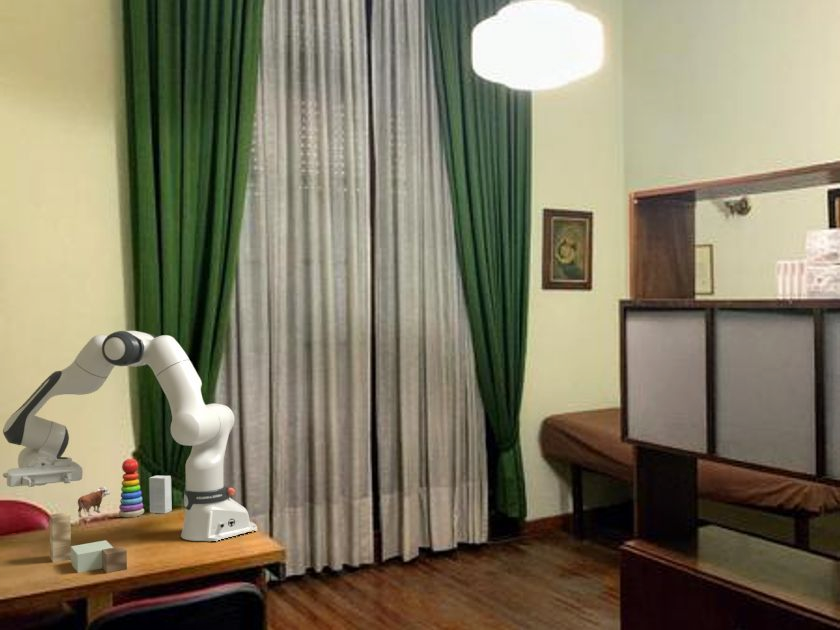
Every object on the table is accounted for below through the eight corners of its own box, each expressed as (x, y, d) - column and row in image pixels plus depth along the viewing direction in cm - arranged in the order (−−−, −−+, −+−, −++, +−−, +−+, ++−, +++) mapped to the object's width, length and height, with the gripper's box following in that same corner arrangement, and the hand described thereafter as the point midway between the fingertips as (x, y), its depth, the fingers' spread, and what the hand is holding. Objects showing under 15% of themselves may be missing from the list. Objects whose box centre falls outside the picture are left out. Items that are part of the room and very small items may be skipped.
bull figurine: (112, 509, 266) (112, 485, 266) (83, 519, 253) (83, 494, 253) (102, 508, 267) (102, 484, 267) (73, 518, 254) (72, 493, 254)
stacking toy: (148, 512, 261) (147, 456, 261) (137, 518, 253) (136, 461, 253) (126, 511, 262) (125, 456, 262) (114, 518, 254) (113, 461, 254)
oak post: (67, 555, 215) (67, 512, 215) (71, 559, 211) (70, 515, 211) (50, 558, 213) (49, 514, 213) (53, 562, 209) (52, 518, 209)
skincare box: (172, 510, 262) (171, 475, 262) (165, 514, 258) (164, 478, 258) (156, 509, 264) (155, 475, 264) (149, 513, 260) (148, 477, 260)
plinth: (106, 558, 213) (106, 540, 213) (114, 566, 205) (113, 548, 205) (71, 564, 208) (70, 546, 208) (77, 573, 200) (77, 554, 200)
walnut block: (122, 564, 206) (121, 546, 206) (126, 569, 202) (126, 550, 202) (102, 568, 204) (102, 549, 204) (106, 573, 199) (106, 554, 199)
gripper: (2, 462, 227) (10, 475, 216) (76, 456, 239) (87, 468, 228) (1, 483, 227) (9, 497, 216) (75, 476, 239) (86, 489, 228)
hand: (50, 482), depth 222 cm, fingers open, 8 cm apart
